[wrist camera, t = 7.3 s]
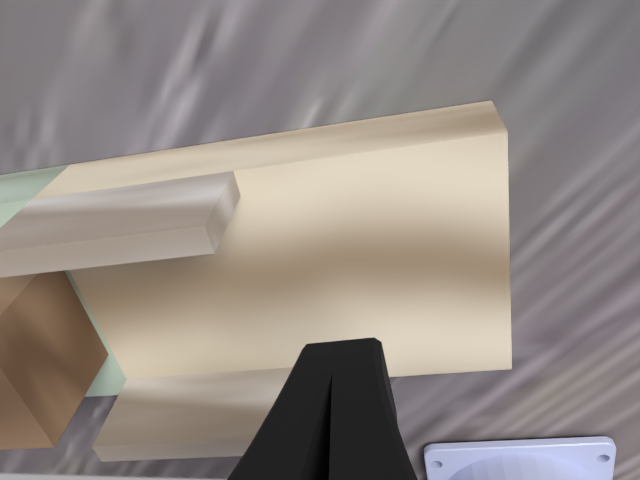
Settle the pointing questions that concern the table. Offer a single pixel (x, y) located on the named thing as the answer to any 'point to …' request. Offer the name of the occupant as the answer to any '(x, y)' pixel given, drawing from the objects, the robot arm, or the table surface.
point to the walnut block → (43, 358)
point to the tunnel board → (272, 265)
